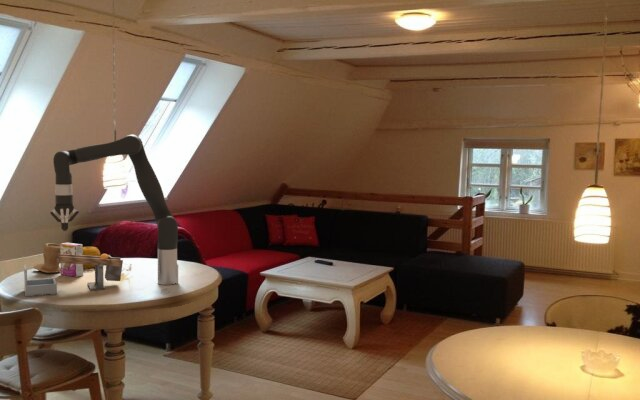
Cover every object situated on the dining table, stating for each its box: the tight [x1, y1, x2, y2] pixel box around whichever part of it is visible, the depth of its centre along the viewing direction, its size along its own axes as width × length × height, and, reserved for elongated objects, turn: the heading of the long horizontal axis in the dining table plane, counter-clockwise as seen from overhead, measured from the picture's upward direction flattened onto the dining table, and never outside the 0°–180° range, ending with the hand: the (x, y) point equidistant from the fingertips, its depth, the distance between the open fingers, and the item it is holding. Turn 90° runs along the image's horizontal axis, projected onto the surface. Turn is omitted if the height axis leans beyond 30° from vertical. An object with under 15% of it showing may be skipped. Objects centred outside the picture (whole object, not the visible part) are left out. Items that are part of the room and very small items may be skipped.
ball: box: [100, 253, 109, 259], centre depth 277 cm, size 4×4×4 cm
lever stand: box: [87, 263, 106, 292], centre depth 276 cm, size 6×13×12 cm, turn 29°
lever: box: [57, 254, 124, 282], centre depth 277 cm, size 28×14×11 cm, turn 119°
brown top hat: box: [32, 242, 61, 274], centre depth 307 cm, size 15×12×15 cm
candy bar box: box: [59, 242, 84, 278], centre depth 299 cm, size 11×5×16 cm, turn 65°
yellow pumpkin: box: [83, 246, 101, 269], centre depth 320 cm, size 13×13×11 cm
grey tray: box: [23, 264, 58, 297], centre depth 265 cm, size 13×13×12 cm
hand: (64, 230), depth 275 cm, fingers closed
